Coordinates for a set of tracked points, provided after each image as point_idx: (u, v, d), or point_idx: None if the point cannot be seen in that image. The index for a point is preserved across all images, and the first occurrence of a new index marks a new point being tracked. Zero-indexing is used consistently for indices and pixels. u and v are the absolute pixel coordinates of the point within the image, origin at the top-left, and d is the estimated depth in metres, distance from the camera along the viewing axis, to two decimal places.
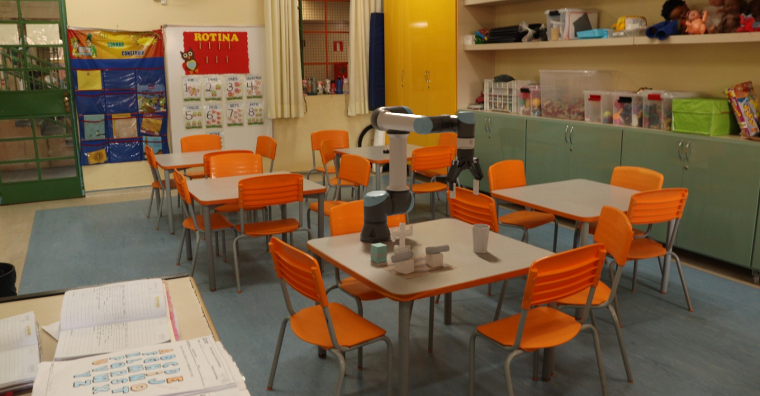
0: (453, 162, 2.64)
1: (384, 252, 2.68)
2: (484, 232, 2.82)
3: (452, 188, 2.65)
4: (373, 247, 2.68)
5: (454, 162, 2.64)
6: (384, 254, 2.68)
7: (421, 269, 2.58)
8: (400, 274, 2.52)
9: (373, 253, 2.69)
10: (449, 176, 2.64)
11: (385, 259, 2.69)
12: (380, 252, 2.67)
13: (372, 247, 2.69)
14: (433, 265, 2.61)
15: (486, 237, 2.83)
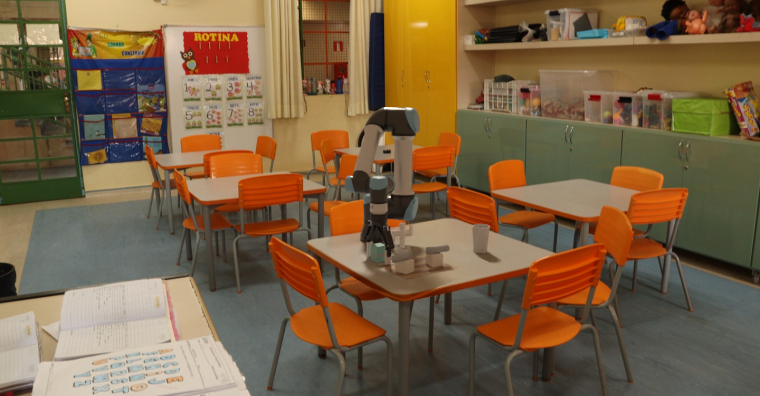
0: None
1: (384, 252, 2.68)
2: (484, 232, 2.82)
3: (367, 246, 2.75)
4: (373, 247, 2.68)
5: None
6: (384, 254, 2.68)
7: (421, 269, 2.58)
8: (400, 274, 2.52)
9: (373, 253, 2.69)
10: None
11: None
12: (380, 252, 2.67)
13: (372, 247, 2.69)
14: (433, 265, 2.61)
15: (486, 237, 2.83)
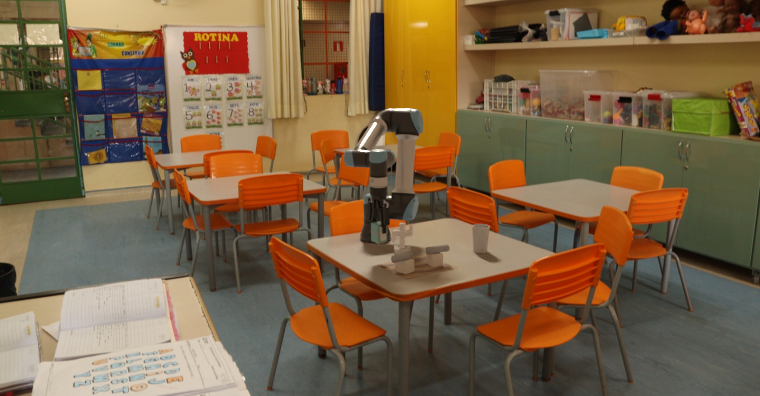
0: None
1: None
2: (484, 232, 2.82)
3: None
4: (373, 225, 2.66)
5: None
6: None
7: (421, 269, 2.58)
8: (400, 274, 2.52)
9: (373, 231, 2.67)
10: None
11: None
12: None
13: (372, 225, 2.67)
14: (433, 265, 2.61)
15: (486, 237, 2.83)
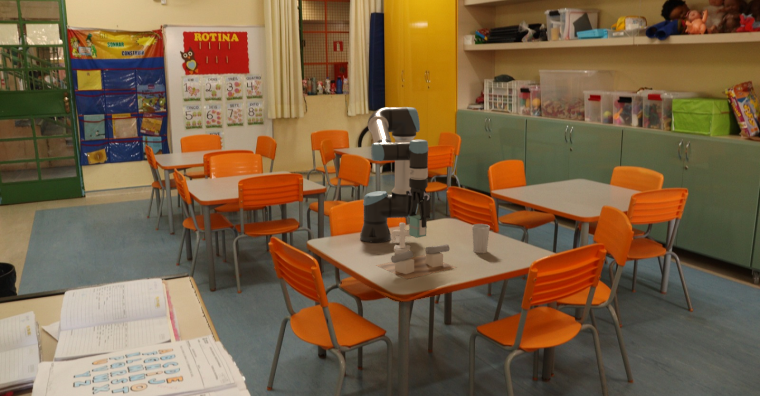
0: None
1: None
2: (484, 232, 2.82)
3: None
4: (412, 219, 2.56)
5: None
6: None
7: (421, 269, 2.58)
8: (400, 274, 2.52)
9: (412, 225, 2.56)
10: None
11: None
12: None
13: (411, 219, 2.56)
14: (433, 265, 2.61)
15: (486, 237, 2.83)
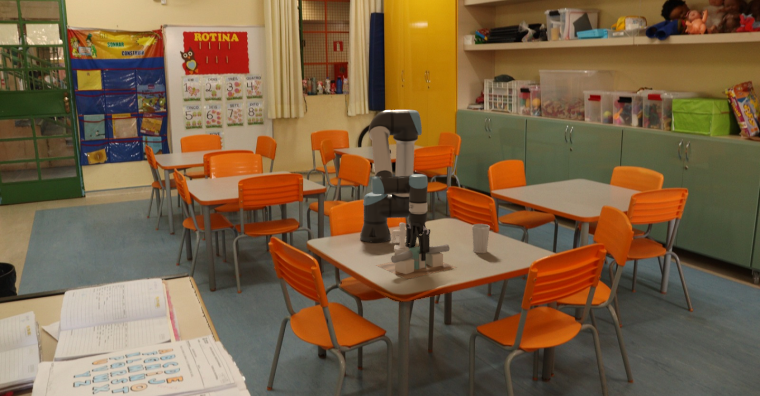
0: None
1: None
2: (484, 232, 2.82)
3: None
4: (412, 251, 2.59)
5: None
6: None
7: (421, 269, 2.58)
8: (400, 274, 2.52)
9: (412, 257, 2.59)
10: None
11: None
12: None
13: None
14: (433, 265, 2.61)
15: (486, 237, 2.83)
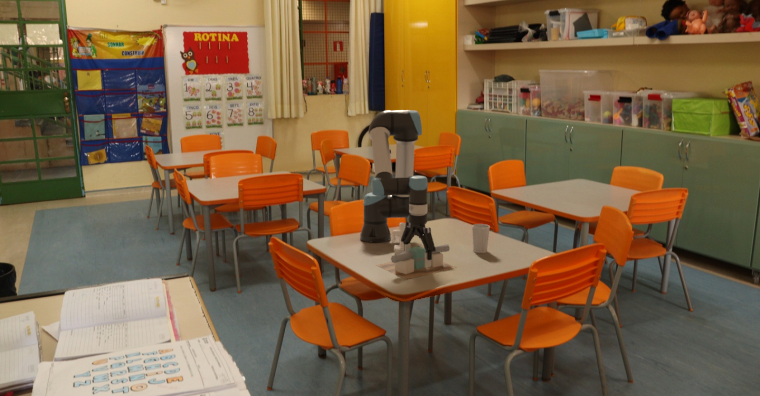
0: None
1: (423, 256, 2.59)
2: (484, 232, 2.82)
3: (405, 248, 2.66)
4: (412, 251, 2.59)
5: None
6: (423, 258, 2.59)
7: (421, 269, 2.58)
8: (400, 274, 2.52)
9: (412, 257, 2.59)
10: None
11: (424, 263, 2.60)
12: (419, 256, 2.58)
13: None
14: (433, 265, 2.61)
15: (486, 237, 2.83)
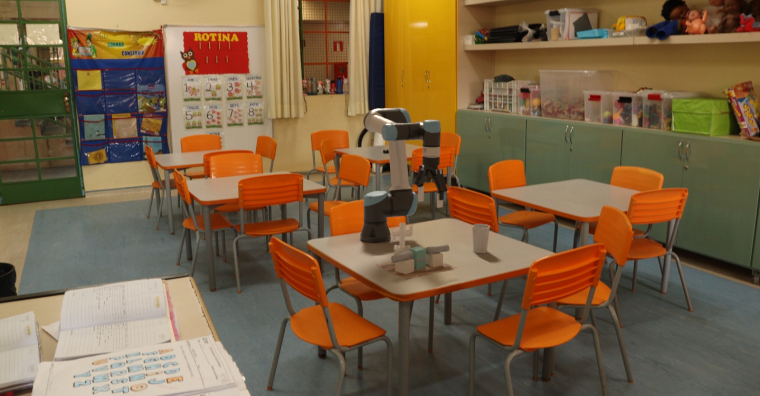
0: None
1: (423, 256, 2.59)
2: (484, 232, 2.82)
3: (418, 191, 2.78)
4: (412, 251, 2.59)
5: None
6: (423, 258, 2.59)
7: (421, 269, 2.58)
8: (400, 274, 2.52)
9: (412, 257, 2.59)
10: None
11: (424, 263, 2.60)
12: (419, 256, 2.58)
13: None
14: (433, 265, 2.61)
15: (486, 237, 2.83)
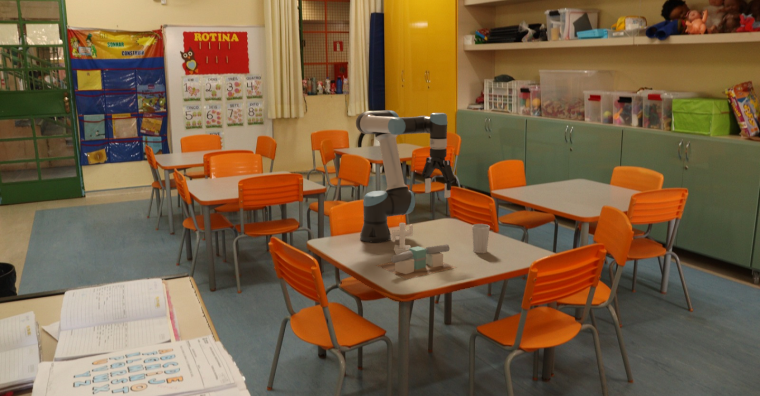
0: None
1: (423, 256, 2.59)
2: (484, 232, 2.82)
3: None
4: (412, 251, 2.59)
5: None
6: (423, 258, 2.59)
7: (421, 269, 2.58)
8: (400, 274, 2.52)
9: (412, 257, 2.59)
10: None
11: (424, 263, 2.60)
12: (419, 256, 2.58)
13: None
14: (433, 265, 2.61)
15: (486, 237, 2.83)
